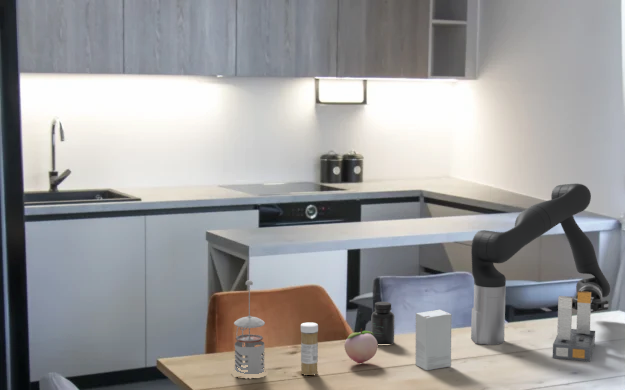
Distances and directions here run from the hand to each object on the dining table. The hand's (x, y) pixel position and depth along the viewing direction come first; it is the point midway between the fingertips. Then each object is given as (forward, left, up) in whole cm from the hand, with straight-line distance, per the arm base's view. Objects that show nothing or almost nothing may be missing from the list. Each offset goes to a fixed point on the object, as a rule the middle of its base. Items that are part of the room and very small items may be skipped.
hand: (584, 309), depth 273 cm
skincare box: (-49, -20, -11) cm, 54 cm away
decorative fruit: (-68, -17, -11) cm, 71 cm away
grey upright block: (-10, -10, -6) cm, 15 cm away
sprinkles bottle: (-83, -25, -11) cm, 88 cm away
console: (-5, -7, -11) cm, 14 cm away
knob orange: (-2, -4, -6) cm, 7 cm away
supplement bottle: (-59, +5, -11) cm, 61 cm away
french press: (-99, -23, -11) cm, 103 cm away
